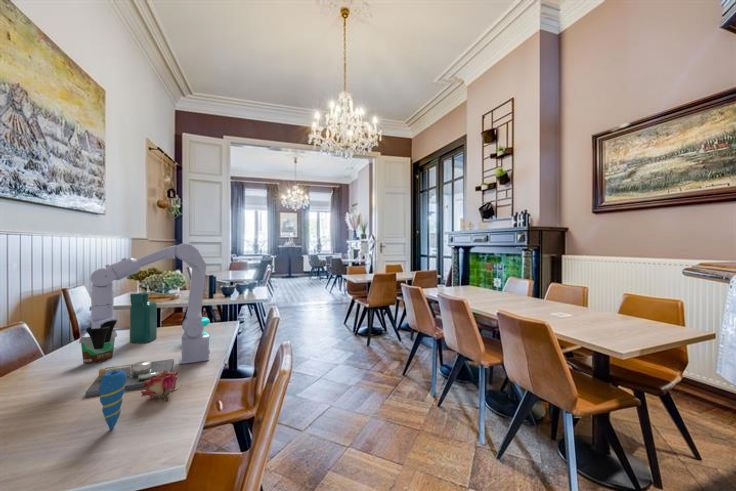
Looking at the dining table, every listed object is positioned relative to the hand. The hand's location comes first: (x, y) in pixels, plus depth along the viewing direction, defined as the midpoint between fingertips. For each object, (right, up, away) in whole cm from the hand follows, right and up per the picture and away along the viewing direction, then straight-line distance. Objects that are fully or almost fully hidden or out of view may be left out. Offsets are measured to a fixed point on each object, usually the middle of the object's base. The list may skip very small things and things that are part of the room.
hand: (102, 345), depth 107 cm
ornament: (+28, -10, -31) cm, 43 cm away
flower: (+29, -10, -16) cm, 35 cm away
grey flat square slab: (+12, -10, -2) cm, 16 cm away
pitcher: (-13, -10, +38) cm, 41 cm away
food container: (-11, -10, +14) cm, 21 cm away
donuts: (+11, -10, +39) cm, 41 cm away
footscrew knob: (+11, -8, -4) cm, 14 cm away
